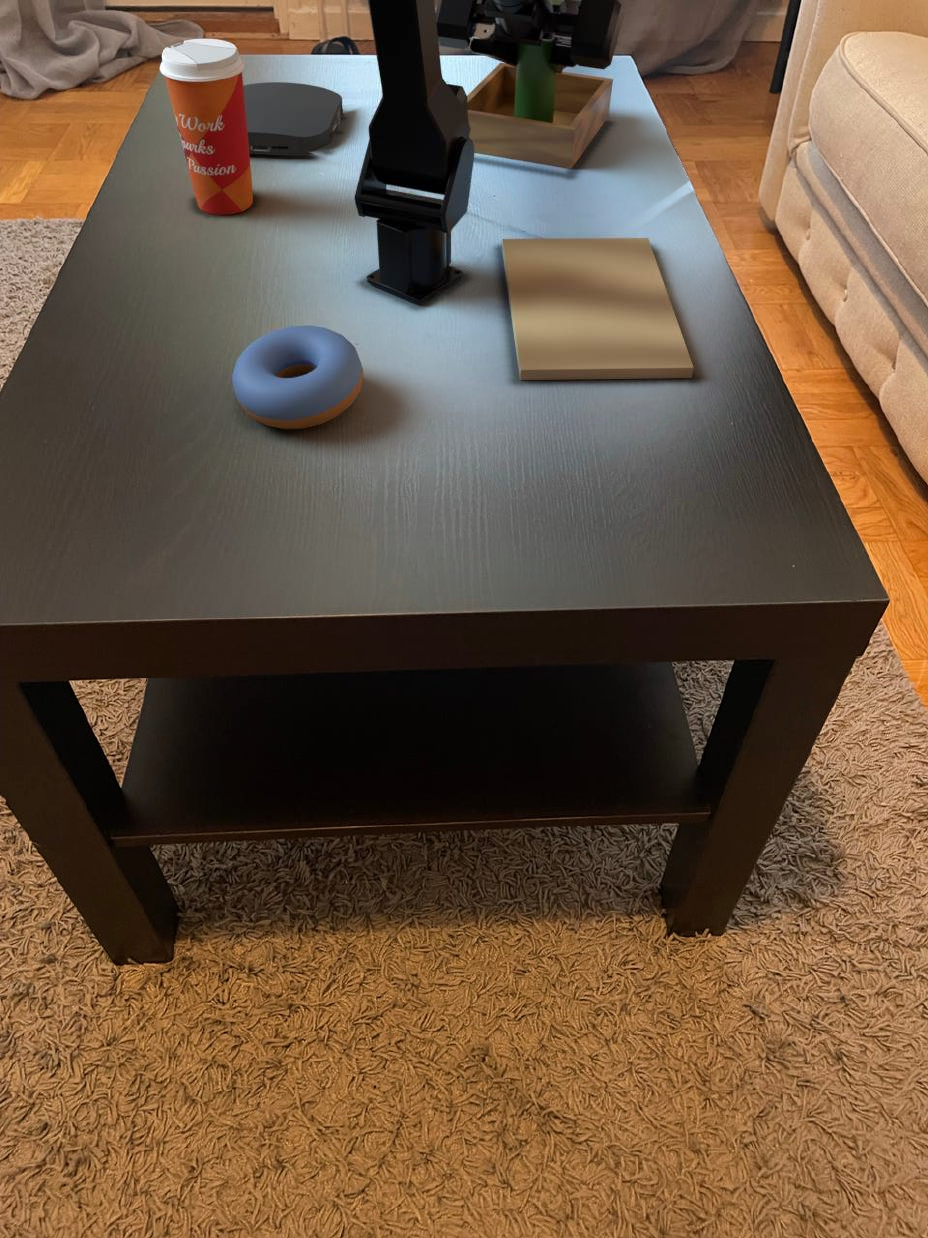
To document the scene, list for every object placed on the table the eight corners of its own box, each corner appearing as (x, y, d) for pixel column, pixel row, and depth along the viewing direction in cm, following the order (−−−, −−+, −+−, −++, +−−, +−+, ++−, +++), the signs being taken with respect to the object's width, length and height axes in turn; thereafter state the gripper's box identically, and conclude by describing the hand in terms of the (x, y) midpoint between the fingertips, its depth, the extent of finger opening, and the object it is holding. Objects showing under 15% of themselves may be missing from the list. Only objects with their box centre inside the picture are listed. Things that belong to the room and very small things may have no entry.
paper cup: (171, 205, 98) (138, 53, 88) (224, 179, 103) (199, 30, 92) (227, 227, 95) (200, 71, 85) (280, 199, 100) (261, 47, 89)
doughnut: (231, 442, 72) (220, 390, 69) (243, 366, 79) (233, 316, 76) (364, 438, 73) (360, 386, 70) (365, 363, 80) (361, 313, 76)
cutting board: (691, 378, 79) (694, 367, 78) (519, 380, 78) (520, 369, 78) (646, 247, 94) (648, 237, 93) (501, 248, 93) (502, 238, 92)
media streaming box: (228, 103, 116) (224, 76, 114) (349, 109, 116) (347, 82, 114) (195, 154, 107) (190, 125, 104) (327, 161, 106) (324, 132, 104)
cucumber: (537, 142, 108) (547, -2, 98) (505, 132, 110) (511, -11, 99) (559, 130, 110) (571, -12, 100) (528, 120, 112) (536, -20, 102)
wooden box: (570, 176, 104) (574, 129, 101) (452, 155, 107) (452, 109, 104) (607, 122, 114) (613, 78, 111) (498, 105, 117) (500, 62, 114)
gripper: (633, -102, 88) (644, 2, 104) (442, -122, 93) (479, -19, 108) (600, 21, 89) (615, 106, 104) (413, -4, 93) (453, 82, 109)
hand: (540, 65), depth 106 cm, fingers closed on cucumber, 4 cm apart
